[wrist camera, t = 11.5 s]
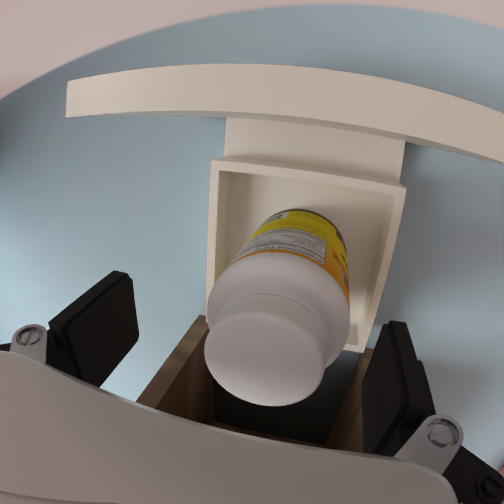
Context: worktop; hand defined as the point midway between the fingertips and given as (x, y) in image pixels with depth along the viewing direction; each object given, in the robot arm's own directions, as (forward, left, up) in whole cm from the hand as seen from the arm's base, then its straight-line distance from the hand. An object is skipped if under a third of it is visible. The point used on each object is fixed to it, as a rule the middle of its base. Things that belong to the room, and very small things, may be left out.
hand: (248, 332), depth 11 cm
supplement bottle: (+1, 0, -9) cm, 9 cm away
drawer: (+1, +2, -10) cm, 10 cm away
